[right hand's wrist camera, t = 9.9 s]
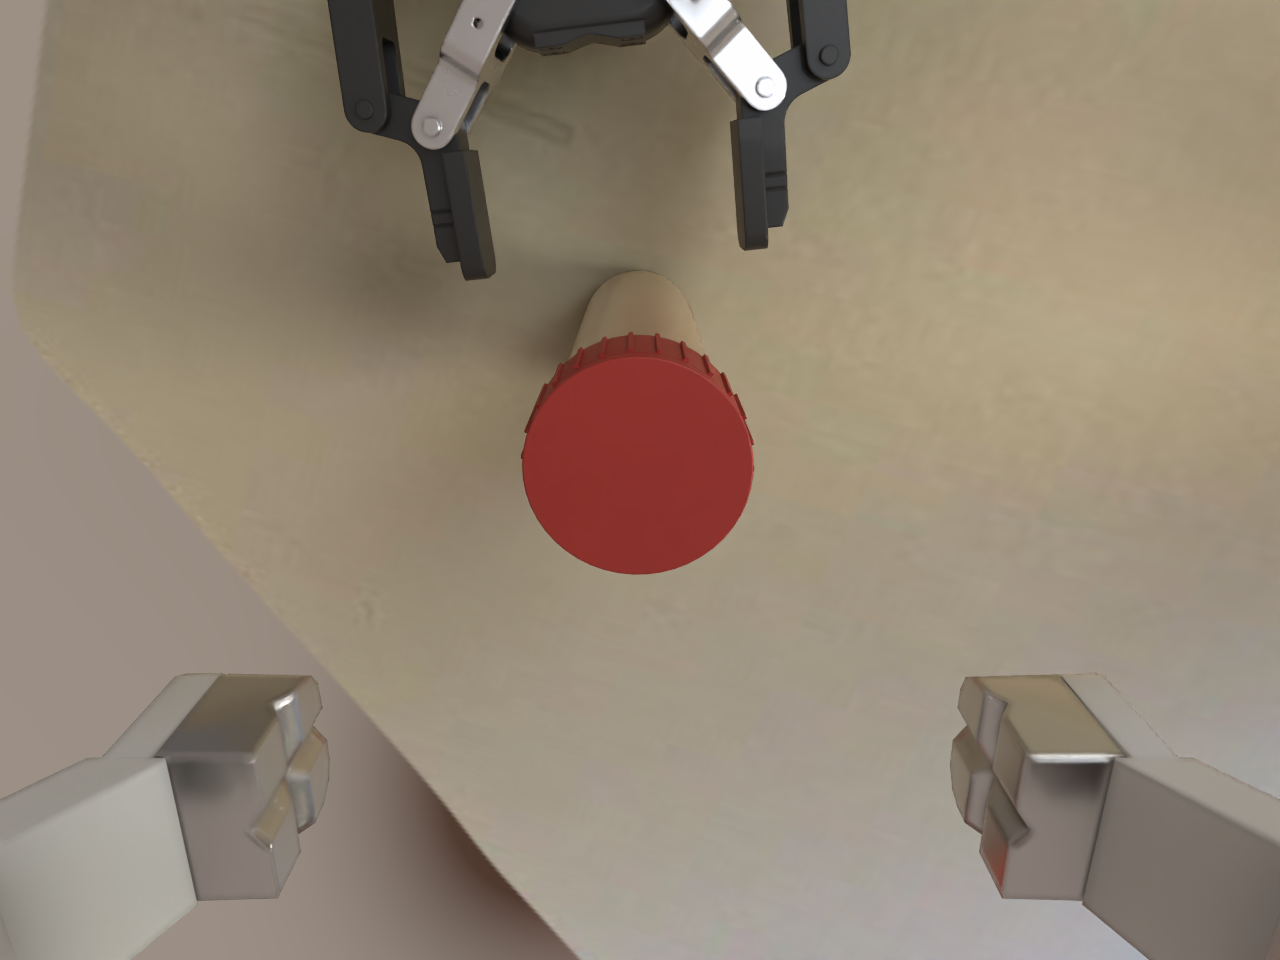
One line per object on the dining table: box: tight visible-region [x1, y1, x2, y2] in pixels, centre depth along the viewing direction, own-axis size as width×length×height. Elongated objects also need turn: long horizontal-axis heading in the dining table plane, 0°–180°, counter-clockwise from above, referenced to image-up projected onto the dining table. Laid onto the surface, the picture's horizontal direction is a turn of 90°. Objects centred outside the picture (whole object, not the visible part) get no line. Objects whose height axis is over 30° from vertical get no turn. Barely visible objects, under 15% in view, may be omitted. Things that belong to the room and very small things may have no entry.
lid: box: [521, 332, 754, 574], centre depth 20 cm, size 5×5×2 cm
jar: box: [569, 271, 706, 359], centre depth 27 cm, size 4×4×17 cm
